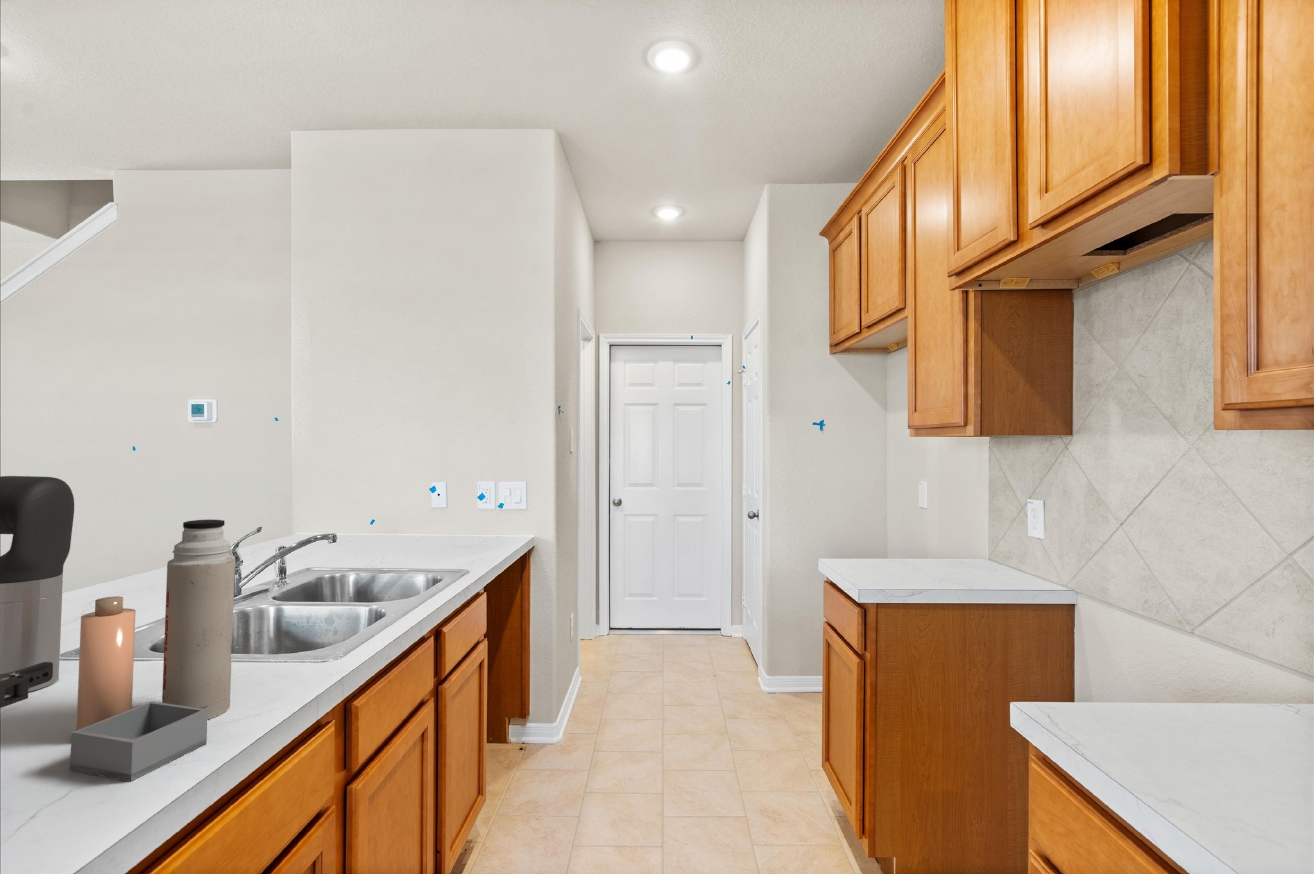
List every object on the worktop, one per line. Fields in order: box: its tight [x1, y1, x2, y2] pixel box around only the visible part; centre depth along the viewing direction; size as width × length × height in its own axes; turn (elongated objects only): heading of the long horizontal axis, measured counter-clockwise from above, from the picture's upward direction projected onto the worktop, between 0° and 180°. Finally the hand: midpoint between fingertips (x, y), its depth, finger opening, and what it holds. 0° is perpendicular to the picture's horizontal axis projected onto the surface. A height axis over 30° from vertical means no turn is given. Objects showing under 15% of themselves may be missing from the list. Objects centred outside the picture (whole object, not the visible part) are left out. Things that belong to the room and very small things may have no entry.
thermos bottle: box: [161, 519, 236, 721], centre depth 89 cm, size 8×8×28 cm
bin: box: [69, 700, 208, 782], centre depth 76 cm, size 9×9×4 cm
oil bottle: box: [75, 595, 136, 731], centre depth 82 cm, size 6×6×18 cm
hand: (15, 668), depth 71 cm, fingers open, 8 cm apart
